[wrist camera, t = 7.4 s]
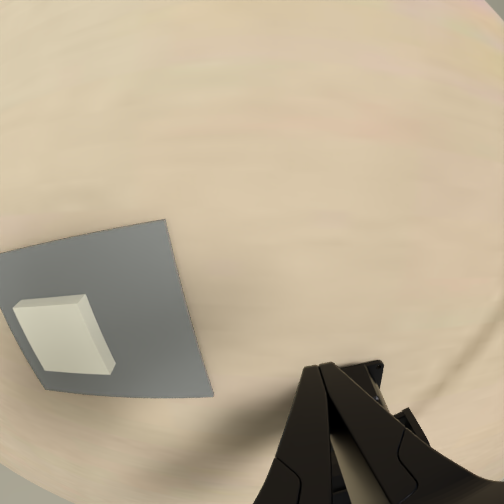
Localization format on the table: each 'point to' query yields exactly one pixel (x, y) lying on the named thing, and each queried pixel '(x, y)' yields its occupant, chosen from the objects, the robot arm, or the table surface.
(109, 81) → the table surface
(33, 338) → the tile
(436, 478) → the robot arm
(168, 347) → the mat
